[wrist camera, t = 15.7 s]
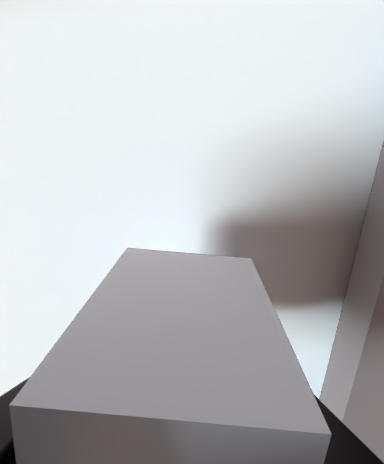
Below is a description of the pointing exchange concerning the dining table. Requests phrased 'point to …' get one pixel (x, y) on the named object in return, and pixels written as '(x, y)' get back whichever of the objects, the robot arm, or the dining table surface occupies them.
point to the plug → (171, 373)
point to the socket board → (362, 334)
